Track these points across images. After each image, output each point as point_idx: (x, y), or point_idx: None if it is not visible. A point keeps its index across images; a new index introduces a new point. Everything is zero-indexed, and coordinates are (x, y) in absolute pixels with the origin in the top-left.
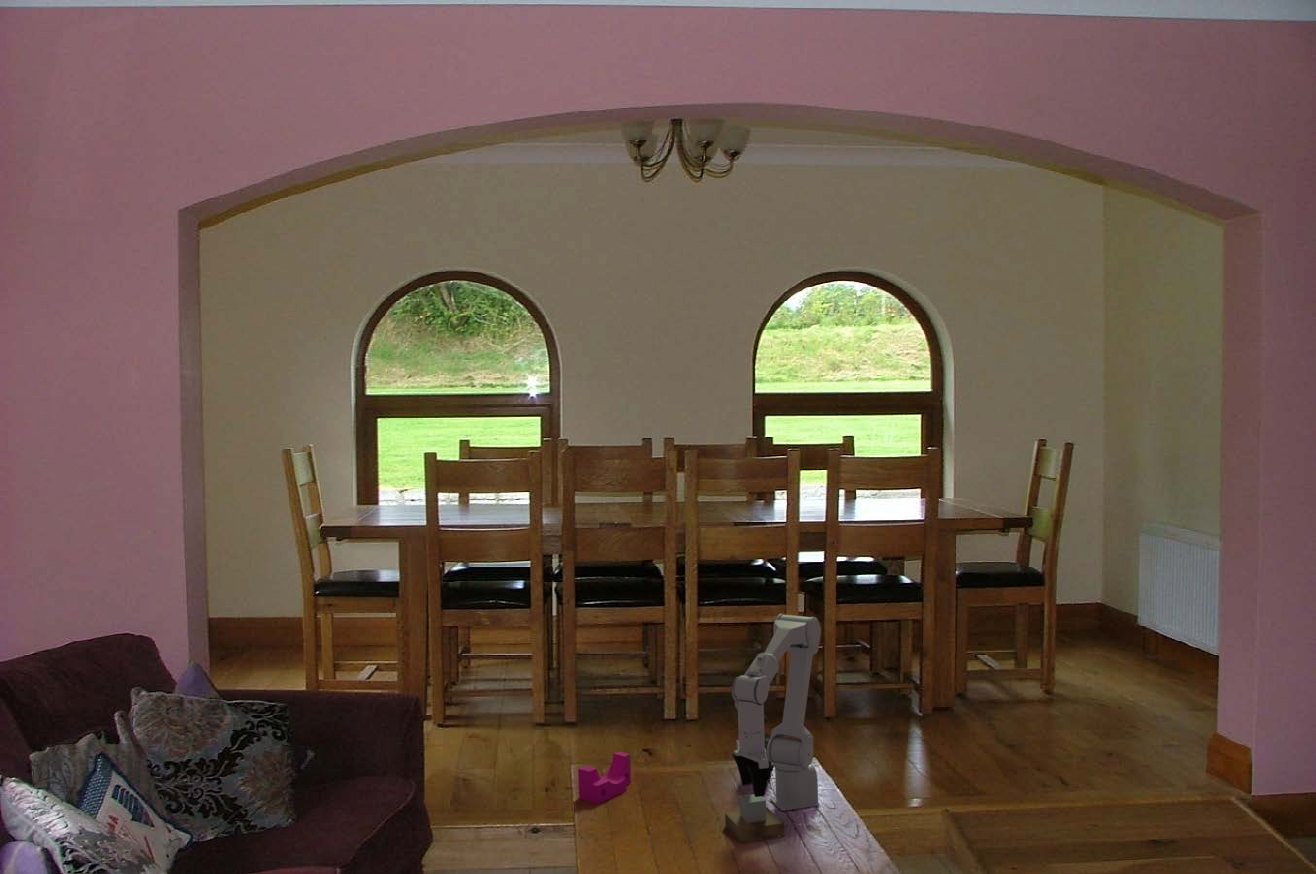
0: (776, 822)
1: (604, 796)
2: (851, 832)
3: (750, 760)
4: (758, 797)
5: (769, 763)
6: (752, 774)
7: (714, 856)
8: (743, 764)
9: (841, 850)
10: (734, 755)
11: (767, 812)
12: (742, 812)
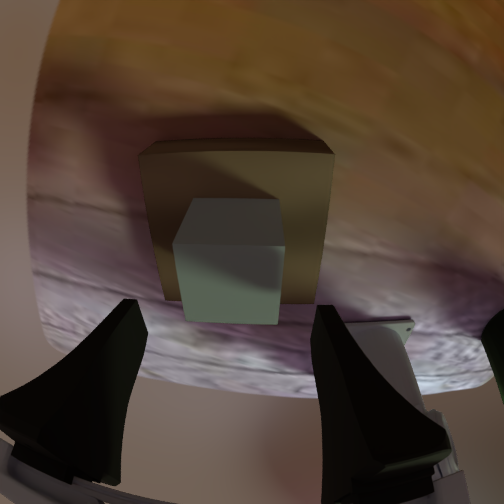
0: (172, 285)
1: None
2: (168, 374)
3: (329, 459)
4: (229, 310)
5: (491, 366)
6: (13, 390)
7: (86, 37)
8: (340, 421)
9: (88, 332)
10: (395, 467)
11: None
12: (247, 209)
